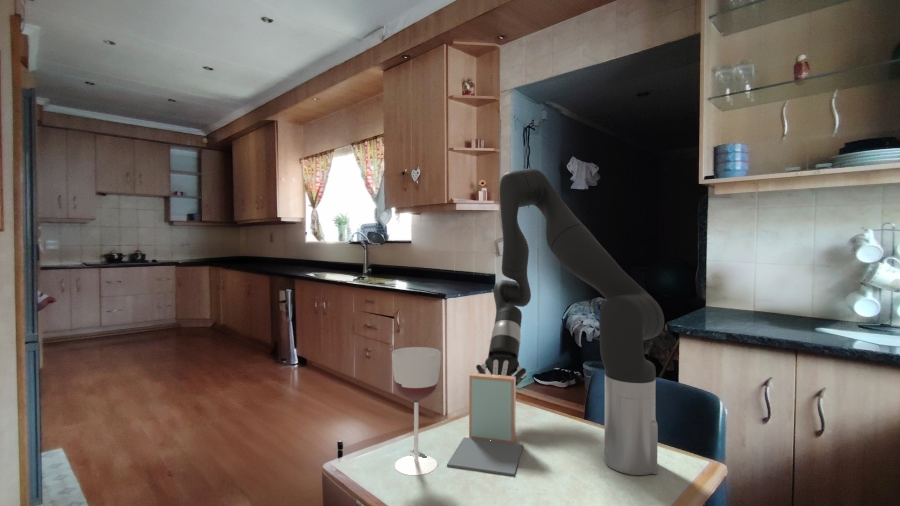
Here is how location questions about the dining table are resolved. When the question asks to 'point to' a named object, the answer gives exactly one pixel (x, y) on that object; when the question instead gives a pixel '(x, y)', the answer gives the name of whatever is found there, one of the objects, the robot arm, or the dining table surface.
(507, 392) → the picture frame
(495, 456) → the mat
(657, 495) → the dining table surface
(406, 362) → the wineglass
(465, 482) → the dining table surface
